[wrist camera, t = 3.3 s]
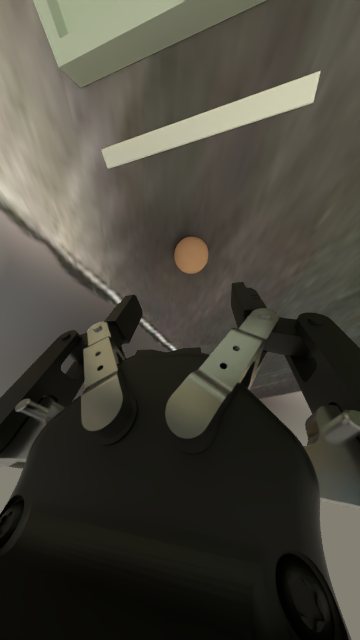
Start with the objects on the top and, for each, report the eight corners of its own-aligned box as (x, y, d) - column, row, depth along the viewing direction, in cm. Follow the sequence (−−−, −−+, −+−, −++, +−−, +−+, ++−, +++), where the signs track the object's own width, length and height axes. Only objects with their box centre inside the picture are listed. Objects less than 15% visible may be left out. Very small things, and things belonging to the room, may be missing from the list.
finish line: (318, 73, 13) (320, 70, 13) (311, 103, 14) (313, 102, 14) (102, 150, 17) (101, 149, 17) (109, 169, 18) (107, 168, 18)
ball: (206, 230, 21) (208, 237, 17) (208, 264, 24) (210, 276, 20) (173, 236, 22) (168, 244, 18) (179, 268, 25) (176, 281, 21)
